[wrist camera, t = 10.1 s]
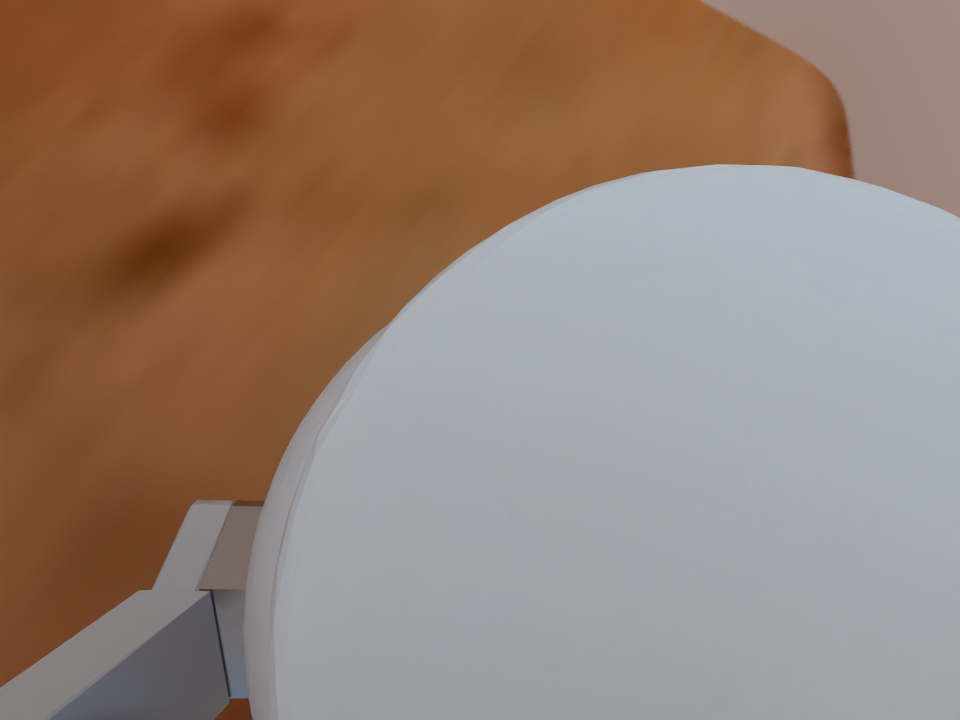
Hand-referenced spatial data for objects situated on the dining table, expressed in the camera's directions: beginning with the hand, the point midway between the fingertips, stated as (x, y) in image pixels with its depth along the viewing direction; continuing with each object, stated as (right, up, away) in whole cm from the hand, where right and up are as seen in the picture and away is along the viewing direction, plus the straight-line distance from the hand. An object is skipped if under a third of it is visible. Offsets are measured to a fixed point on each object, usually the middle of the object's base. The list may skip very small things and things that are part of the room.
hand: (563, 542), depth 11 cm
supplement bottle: (0, -2, +5) cm, 6 cm away
